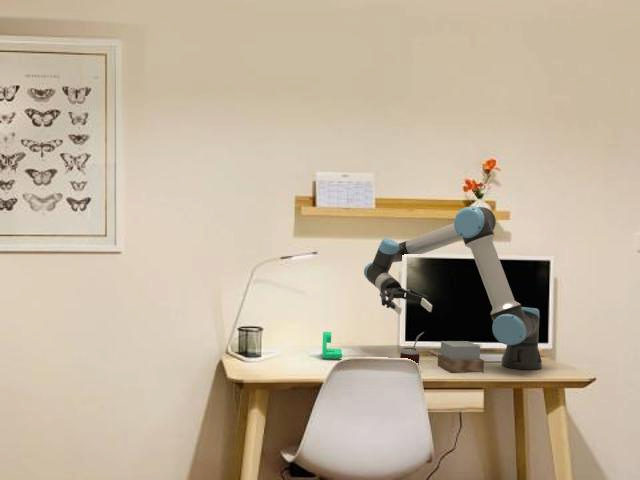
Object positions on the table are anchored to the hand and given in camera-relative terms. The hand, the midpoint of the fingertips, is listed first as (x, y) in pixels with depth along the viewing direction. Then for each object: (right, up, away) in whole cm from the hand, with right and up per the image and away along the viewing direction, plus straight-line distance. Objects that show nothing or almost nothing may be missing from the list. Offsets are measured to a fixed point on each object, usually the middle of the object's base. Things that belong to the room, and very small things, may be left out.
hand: (415, 310), depth 292 cm
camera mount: (-31, -20, +14) cm, 40 cm away
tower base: (+17, -23, 0) cm, 28 cm away
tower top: (+17, -18, 0) cm, 24 cm away
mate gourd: (-3, -22, -6) cm, 23 cm away
